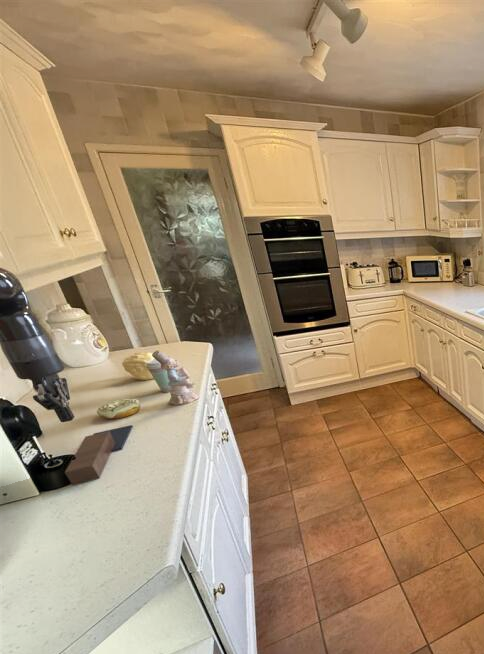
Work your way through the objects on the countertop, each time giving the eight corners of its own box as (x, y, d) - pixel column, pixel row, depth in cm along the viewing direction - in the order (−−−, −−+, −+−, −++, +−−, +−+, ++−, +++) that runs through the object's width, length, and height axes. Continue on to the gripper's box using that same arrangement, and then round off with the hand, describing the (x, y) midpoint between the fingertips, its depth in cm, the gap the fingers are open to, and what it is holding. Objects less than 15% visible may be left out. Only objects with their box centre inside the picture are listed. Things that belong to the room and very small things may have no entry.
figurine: (170, 408, 136) (147, 354, 127) (168, 401, 141) (146, 348, 133) (201, 400, 141) (181, 347, 133) (198, 393, 147) (179, 342, 139)
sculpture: (124, 383, 158) (112, 357, 154) (149, 371, 169) (139, 348, 164) (152, 382, 158) (142, 357, 153) (176, 371, 169) (166, 347, 164)
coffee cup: (176, 383, 156) (164, 355, 151) (190, 386, 153) (178, 357, 148) (151, 392, 149) (138, 362, 144) (166, 395, 146) (153, 365, 141)
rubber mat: (122, 449, 112) (121, 447, 112) (78, 459, 108) (77, 458, 108) (133, 426, 125) (132, 424, 124) (94, 435, 120) (93, 433, 120)
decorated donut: (110, 423, 127) (105, 413, 125) (94, 417, 131) (88, 407, 129) (148, 409, 135) (144, 399, 134) (131, 404, 139) (127, 394, 138)
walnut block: (92, 465, 98) (109, 431, 113) (64, 472, 96) (85, 436, 110) (99, 478, 100) (115, 442, 114) (72, 485, 98) (92, 448, 112)
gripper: (20, 351, 95) (56, 414, 102) (-5, 367, 85) (36, 436, 92) (64, 345, 98) (95, 406, 106) (44, 359, 88) (80, 426, 95)
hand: (68, 420), depth 99 cm, fingers closed
